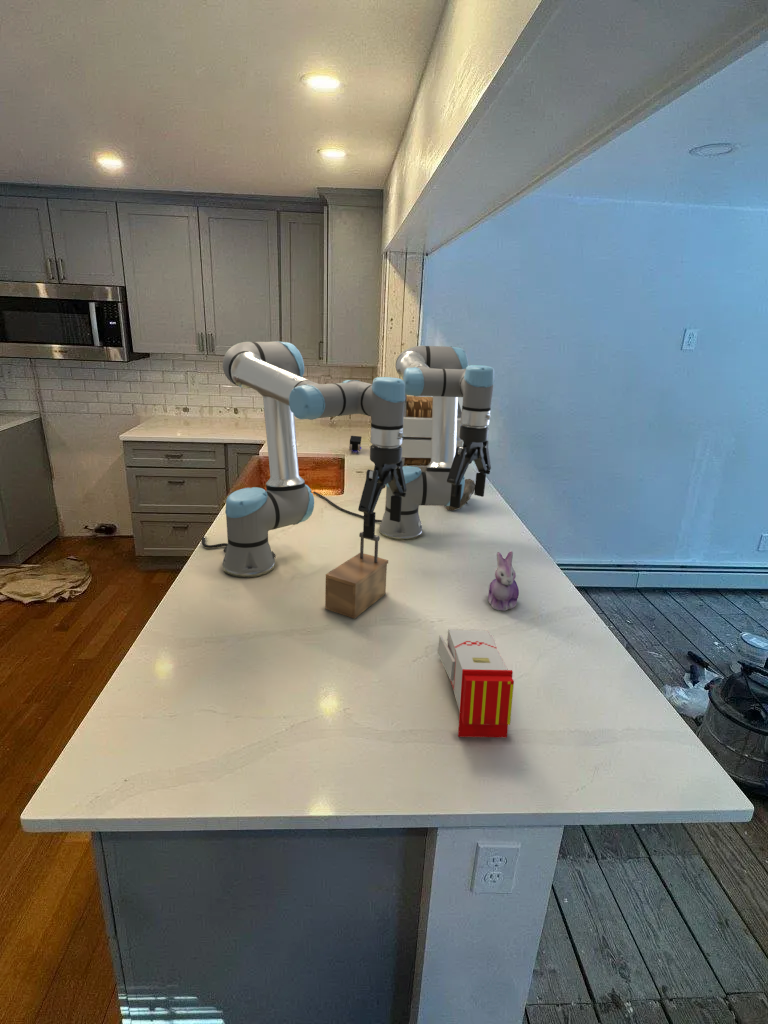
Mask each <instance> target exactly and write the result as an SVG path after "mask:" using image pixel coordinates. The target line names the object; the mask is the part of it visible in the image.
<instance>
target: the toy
mask: <svg viewBox="0 0 768 1024" xmlns="http://www.w3.org/2000/svg"><path fill="white" fill-rule="evenodd" d="M446 640H447V643H446V641H445V639H444V636H443V635H442V634H439V637H438V646H437V656H438V657H439V659H440V661H441V663H442V666H443V668H444V670H445V672H446V674H447V677H448V679H449V681H450V684H451V687H452V690H453V693H454V697H455V701H456V705H457V708H458V711H459V714H458V715H459V716H458V730H457V731H458V732H457V737H458V738H508V731H509V726H510V725H511V717H512V707H513V697H514V696H513V695H514V684H515V680H514V679H513V673H514V671H513V670H512V669H508V667H507V665H506V662H505V661H504V659H503V658H502V655H501V653H500V651H499V649H498V647H497V643H496V639H495V637H494V635H493V634H491V632H490V631H489V629H467V628H466V629H465V628H463V629H461V628H460V629H459V628H448V630H447V639H446Z"/></svg>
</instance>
